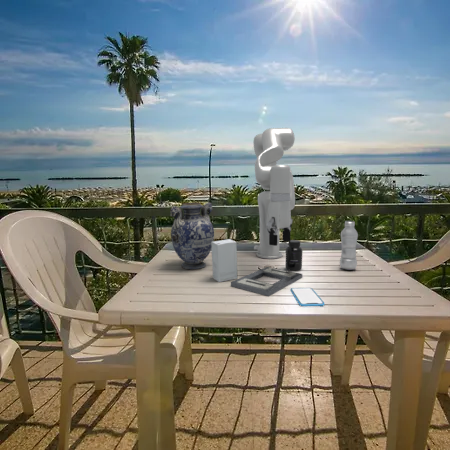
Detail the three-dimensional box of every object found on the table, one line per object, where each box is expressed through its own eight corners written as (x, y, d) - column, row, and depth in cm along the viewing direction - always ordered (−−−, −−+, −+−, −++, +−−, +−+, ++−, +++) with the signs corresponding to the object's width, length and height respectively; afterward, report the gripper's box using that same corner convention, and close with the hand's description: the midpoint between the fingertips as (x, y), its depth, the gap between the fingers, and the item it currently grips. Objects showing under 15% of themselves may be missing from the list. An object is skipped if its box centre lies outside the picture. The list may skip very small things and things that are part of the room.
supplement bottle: (292, 272, 130) (292, 243, 128) (282, 268, 136) (282, 240, 134) (305, 269, 133) (306, 241, 131) (294, 265, 139) (295, 238, 137)
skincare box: (230, 275, 127) (230, 238, 125) (238, 279, 122) (237, 241, 120) (211, 278, 124) (210, 240, 122) (218, 282, 119) (217, 243, 116)
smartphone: (311, 287, 111) (325, 303, 96) (311, 290, 111) (325, 307, 96) (289, 288, 111) (300, 304, 96) (289, 291, 111) (300, 308, 96)
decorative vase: (184, 276, 127) (181, 206, 123) (162, 266, 141) (158, 203, 137) (225, 265, 140) (224, 202, 136) (201, 258, 155) (199, 200, 150)
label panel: (230, 286, 115) (230, 281, 115) (267, 270, 133) (267, 266, 133) (268, 296, 105) (268, 291, 104) (302, 277, 123) (302, 273, 122)
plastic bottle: (358, 272, 128) (360, 222, 125) (340, 271, 130) (342, 222, 127) (355, 267, 135) (357, 220, 132) (338, 266, 136) (340, 220, 133)
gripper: (283, 197, 129) (282, 239, 131) (259, 199, 116) (259, 245, 118) (300, 197, 124) (299, 240, 127) (276, 199, 111) (276, 248, 114)
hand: (280, 243), depth 123 cm, fingers open, 9 cm apart
